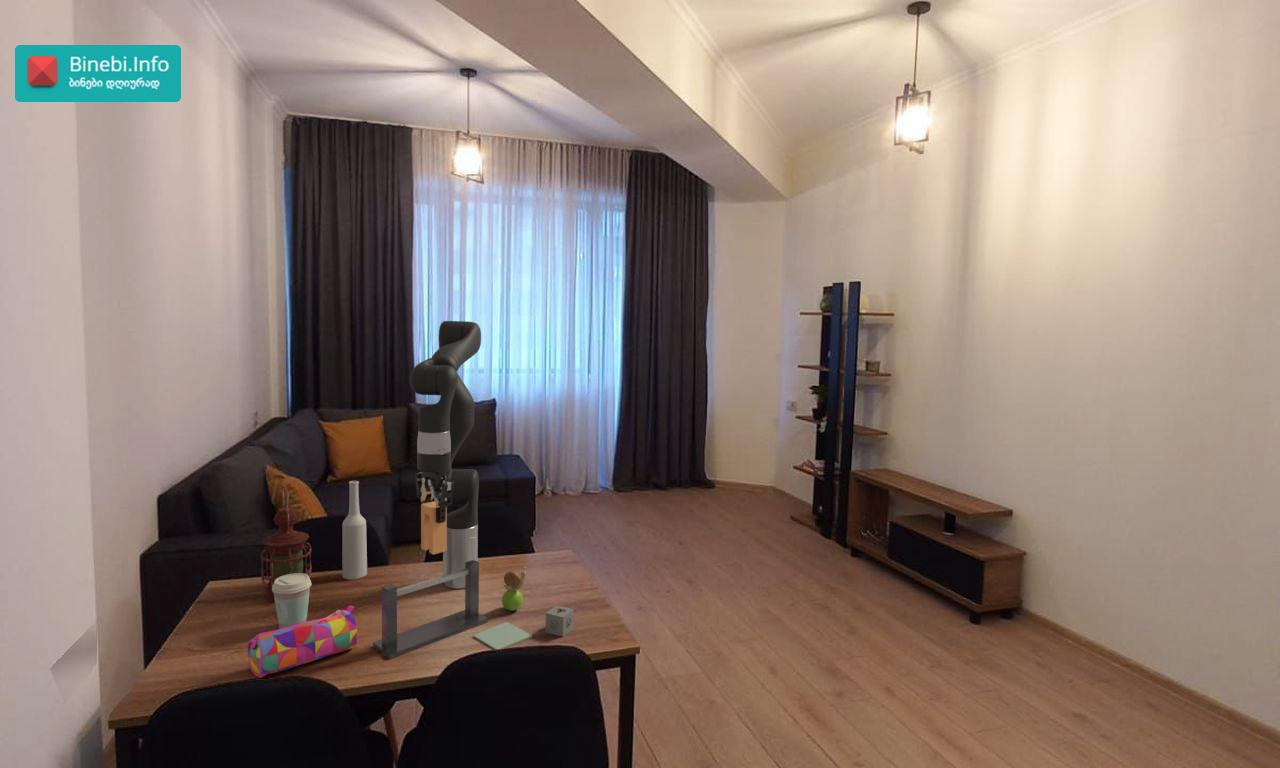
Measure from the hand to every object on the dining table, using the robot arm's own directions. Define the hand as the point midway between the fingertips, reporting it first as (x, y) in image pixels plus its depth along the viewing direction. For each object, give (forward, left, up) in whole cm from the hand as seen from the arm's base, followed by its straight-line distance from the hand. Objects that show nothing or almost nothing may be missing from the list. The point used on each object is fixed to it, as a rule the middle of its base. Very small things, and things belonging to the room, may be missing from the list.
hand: (434, 519), depth 156 cm
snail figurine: (+3, +22, -29) cm, 36 cm away
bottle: (-48, +3, -29) cm, 56 cm away
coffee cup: (-27, -22, -29) cm, 45 cm away
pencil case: (-9, -26, -29) cm, 40 cm away
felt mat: (+13, +11, -28) cm, 33 cm away
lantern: (-47, -16, -29) cm, 57 cm away
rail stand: (0, 0, -28) cm, 28 cm away
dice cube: (+20, +23, -29) cm, 42 cm away
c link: (0, 0, -7) cm, 7 cm away
